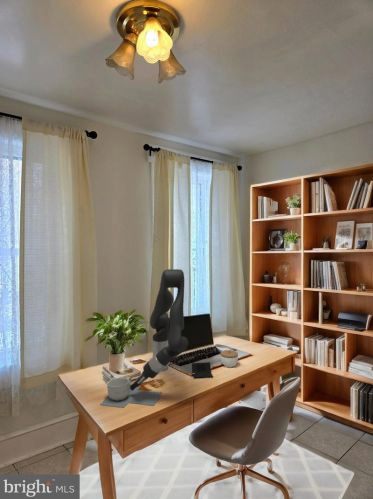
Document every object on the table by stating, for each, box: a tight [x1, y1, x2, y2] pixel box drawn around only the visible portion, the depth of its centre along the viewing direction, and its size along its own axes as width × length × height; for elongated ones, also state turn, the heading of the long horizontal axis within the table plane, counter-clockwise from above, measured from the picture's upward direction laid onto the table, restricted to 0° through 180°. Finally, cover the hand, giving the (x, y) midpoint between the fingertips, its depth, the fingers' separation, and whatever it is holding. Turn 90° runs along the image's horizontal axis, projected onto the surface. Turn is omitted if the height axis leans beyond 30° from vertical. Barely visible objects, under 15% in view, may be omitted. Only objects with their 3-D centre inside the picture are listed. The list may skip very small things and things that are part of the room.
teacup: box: [106, 376, 132, 401], centre depth 155 cm, size 14×11×8 cm
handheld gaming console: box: [191, 362, 214, 380], centre depth 180 cm, size 12×7×10 cm
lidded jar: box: [220, 349, 239, 368], centre depth 194 cm, size 11×11×9 cm
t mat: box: [99, 385, 163, 409], centre depth 155 cm, size 22×25×1 cm
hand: (131, 388), depth 155 cm, fingers closed
